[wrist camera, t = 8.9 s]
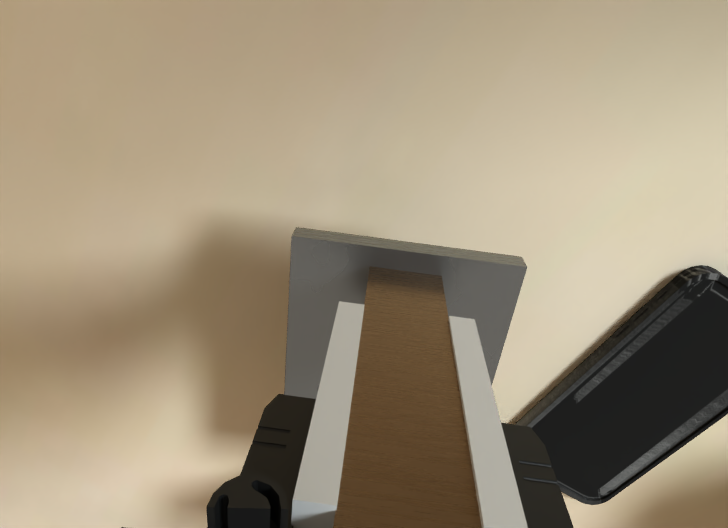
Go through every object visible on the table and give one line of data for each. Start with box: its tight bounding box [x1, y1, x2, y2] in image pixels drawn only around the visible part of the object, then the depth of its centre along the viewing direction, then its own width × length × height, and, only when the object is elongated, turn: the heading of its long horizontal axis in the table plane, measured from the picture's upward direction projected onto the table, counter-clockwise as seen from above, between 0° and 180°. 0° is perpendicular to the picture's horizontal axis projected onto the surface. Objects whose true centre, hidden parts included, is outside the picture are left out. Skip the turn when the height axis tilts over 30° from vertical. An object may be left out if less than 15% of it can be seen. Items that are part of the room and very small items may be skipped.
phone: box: [515, 265, 728, 505], centre depth 25 cm, size 8×1×15 cm
